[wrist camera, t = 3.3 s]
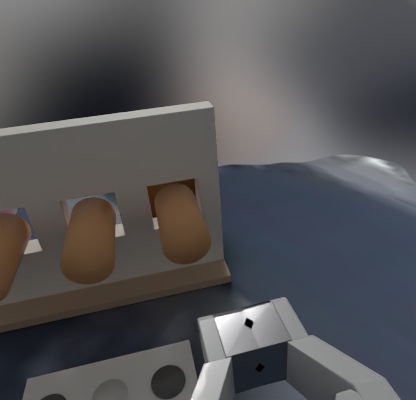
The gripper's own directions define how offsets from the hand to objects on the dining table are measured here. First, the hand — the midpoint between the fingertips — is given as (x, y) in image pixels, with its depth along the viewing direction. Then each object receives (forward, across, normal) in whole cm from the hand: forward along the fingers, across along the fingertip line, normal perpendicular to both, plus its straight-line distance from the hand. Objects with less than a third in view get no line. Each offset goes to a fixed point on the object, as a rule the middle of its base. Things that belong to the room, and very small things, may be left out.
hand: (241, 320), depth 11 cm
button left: (+16, +14, +7) cm, 23 cm away
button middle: (+16, +7, +7) cm, 19 cm away
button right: (+16, 0, +8) cm, 17 cm away
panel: (+19, +8, +14) cm, 25 cm away
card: (+7, +8, +14) cm, 17 cm away
